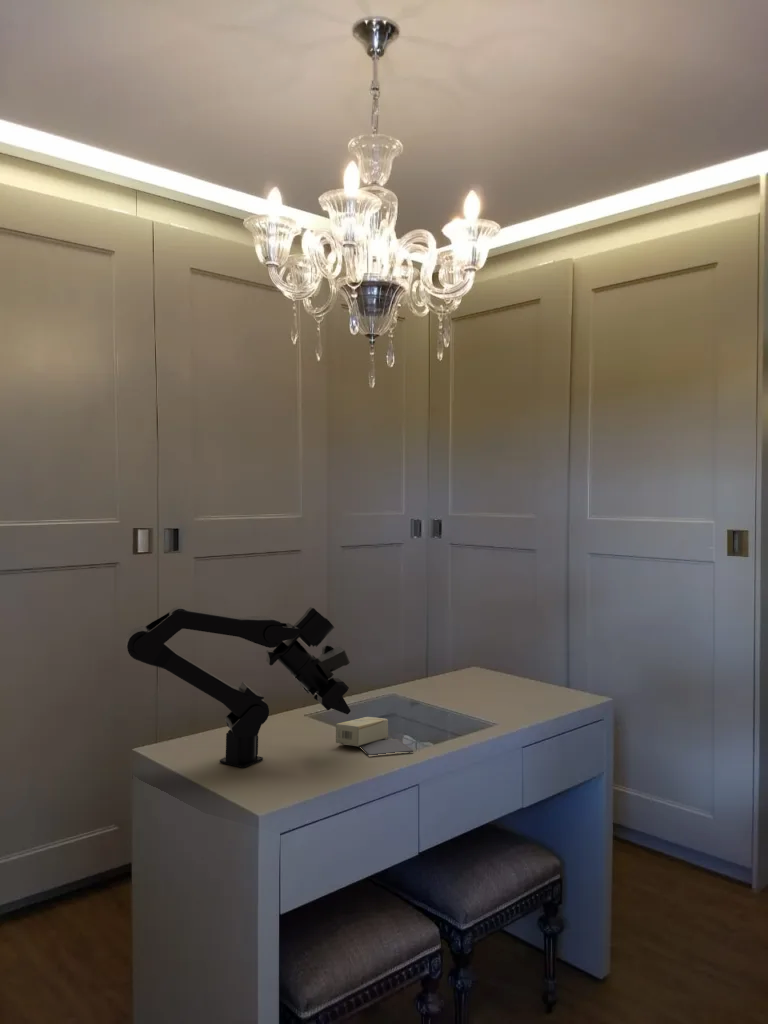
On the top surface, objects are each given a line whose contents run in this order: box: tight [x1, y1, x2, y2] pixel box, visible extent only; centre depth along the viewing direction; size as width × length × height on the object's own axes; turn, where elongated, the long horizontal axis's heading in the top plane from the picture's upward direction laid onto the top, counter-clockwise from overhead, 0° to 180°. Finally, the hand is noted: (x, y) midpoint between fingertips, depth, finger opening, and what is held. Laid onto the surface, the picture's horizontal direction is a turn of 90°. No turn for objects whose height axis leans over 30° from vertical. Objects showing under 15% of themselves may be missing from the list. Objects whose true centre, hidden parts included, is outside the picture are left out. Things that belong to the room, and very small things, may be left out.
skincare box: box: [335, 716, 389, 747], centre depth 173 cm, size 6×4×12 cm
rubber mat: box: [358, 738, 414, 756], centre depth 169 cm, size 10×9×1 cm
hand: (348, 712), depth 166 cm, fingers closed
